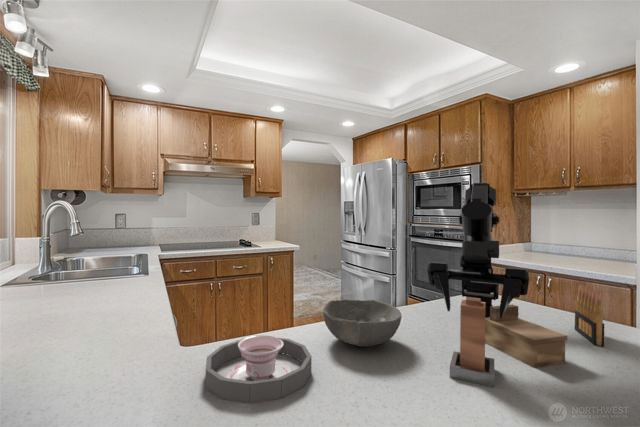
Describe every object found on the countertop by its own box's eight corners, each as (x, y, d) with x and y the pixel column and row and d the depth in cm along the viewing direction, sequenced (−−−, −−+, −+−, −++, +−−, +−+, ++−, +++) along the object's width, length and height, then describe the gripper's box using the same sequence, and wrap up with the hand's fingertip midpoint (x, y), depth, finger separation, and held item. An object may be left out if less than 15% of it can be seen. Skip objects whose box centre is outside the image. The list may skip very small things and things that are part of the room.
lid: (481, 322, 76) (481, 305, 76) (510, 319, 79) (510, 302, 79) (534, 345, 63) (534, 324, 63) (566, 340, 66) (567, 320, 66)
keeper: (453, 361, 66) (453, 351, 66) (494, 369, 63) (494, 358, 63) (449, 377, 60) (449, 366, 60) (494, 387, 57) (494, 375, 57)
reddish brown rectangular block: (461, 366, 64) (462, 295, 64) (484, 371, 62) (485, 298, 62) (459, 375, 61) (460, 300, 60) (484, 380, 59) (485, 303, 59)
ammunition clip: (604, 346, 74) (605, 293, 74) (594, 345, 74) (595, 292, 74) (583, 330, 84) (583, 283, 84) (574, 329, 84) (574, 282, 84)
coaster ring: (208, 357, 67) (208, 342, 67) (297, 346, 73) (297, 333, 73) (203, 410, 50) (203, 390, 50) (322, 391, 55) (322, 373, 55)
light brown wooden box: (482, 341, 76) (483, 323, 76) (510, 338, 78) (510, 320, 78) (533, 367, 64) (534, 345, 64) (564, 362, 66) (565, 340, 66)
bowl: (403, 363, 65) (403, 323, 65) (315, 355, 69) (315, 317, 69) (399, 331, 83) (399, 299, 83) (330, 325, 86) (330, 295, 86)
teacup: (305, 372, 62) (305, 339, 62) (264, 404, 51) (264, 365, 51) (256, 357, 68) (256, 327, 68) (210, 384, 57) (210, 348, 57)
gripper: (429, 225, 73) (419, 284, 63) (528, 227, 64) (534, 297, 55) (434, 256, 80) (425, 314, 70) (524, 262, 72) (529, 329, 62)
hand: (473, 313), depth 64 cm, fingers open, 9 cm apart
